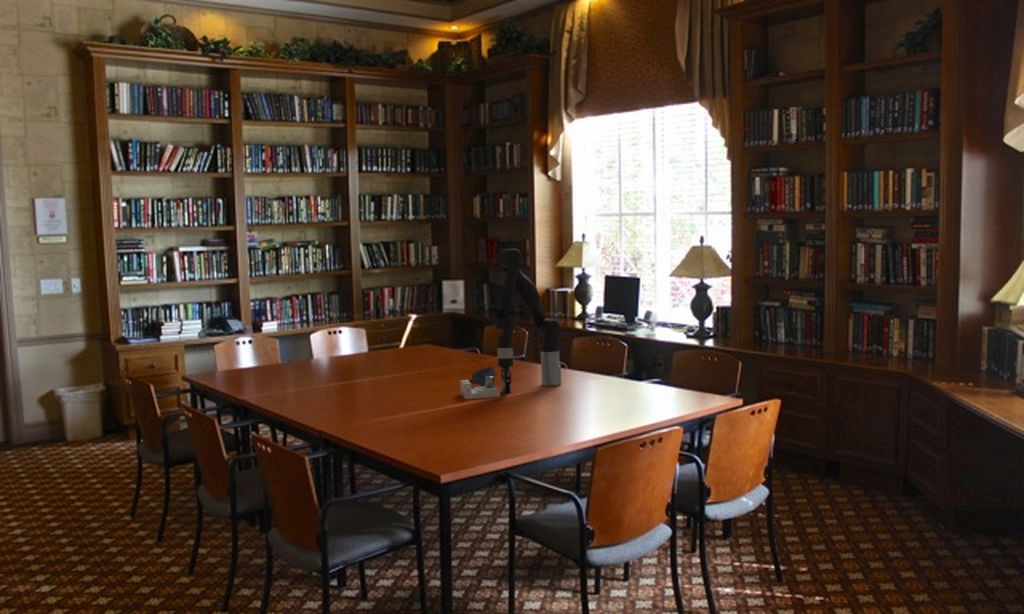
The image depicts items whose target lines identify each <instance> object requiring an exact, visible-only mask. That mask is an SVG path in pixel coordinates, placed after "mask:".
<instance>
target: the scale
mask: <svg viewBox="0 0 1024 614" xmlns="http://www.w3.org/2000/svg"><path fill="white" fill-rule="evenodd" d="M460 395H461V396H462V398H463V399H464V400H474V399H486V398H487V399H488V398H497V397H498V398H500V397H501V391H500V390H499V388H498V387H496V386H495V387H493V388H486V385H485V386H474V387H473V388H472V384H471V383H470V382H469V379H461V380H460Z"/></svg>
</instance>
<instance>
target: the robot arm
mask: <svg viewBox="0 0 1024 614" xmlns="http://www.w3.org/2000/svg"><path fill="white" fill-rule="evenodd" d="M497 261H498V263H499V265H500V267H501V268H502V270H503V271H504V273H505V274H506V277H505V280H504V282H503V284H502V287H501V288H500V292H499V297H498V298H499V299H498V306H497V310H496V313H495V315H494V318H493V326H494V328H495V329H496V330H499V331H502V334H500V335H498V336H497V352H496V353H497V366H498V367H499V368H500V376H501V383H502V382H505V392H506V393H505V394H508V393H507V392H510V384H511V385H512V371H511V369H510V368H511V367H513V366H514V350H513V336H514V331H515V325H516V323H515V319H514V318H513V317H512V316H509V315H508V312H510V311H512V310H513V309H514V308H513V307H514V300H515V299H514V298H515V291H516V292H517V294H518V297H519V298H520V300H521V302H522V303H523V305H524V307H525V308H526V311H527V312H528V314H529V315H530V317H531V320H532V321H533V324H534V326H535V329H536V331H537V333H538V334H539V335H540V336H541V337H544V343H542V344H541V345H540V368H541V369H540V370H541V371H540V372H541V374H540V375H541V385H542V386H544V387H554V386H561V385H562V370H561V364H560V346H561V338H562V337H561V335H562V334H561V324H560V323H559V321H558V320H556V319H551V318H548V316H547V315H546V314H545V312H544V310H543V308H542V300H541V299H542V297H541V294H540V293H539V290H538V288H537V287H536V285H535V284H534V282H533V281H532V280H531V279H530V278H529V277H527V275H525V274H524V273H523V272H522V271H521V265H522V262H523V256H522V252H521V251H520V250H519V249H517V248H504V249H501V250H500V251H499V252H498V254H497ZM507 381H509V382H507Z"/></svg>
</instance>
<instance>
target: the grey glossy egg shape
mask: <svg viewBox="0 0 1024 614" xmlns="http://www.w3.org/2000/svg"><path fill="white" fill-rule="evenodd" d="M485 384H486V385H485V386H486V388H493V387H496V386H495V385H496V384H495V379H494V376H486V377H485Z"/></svg>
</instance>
